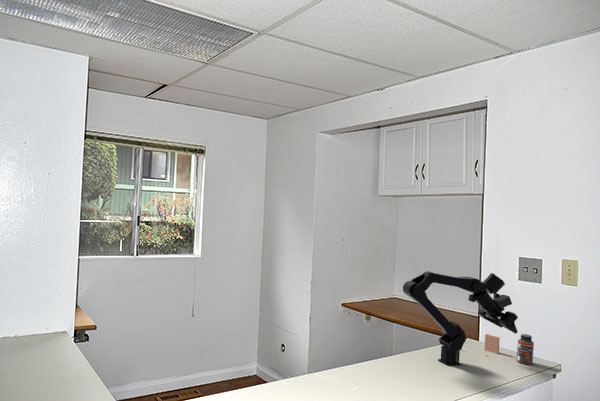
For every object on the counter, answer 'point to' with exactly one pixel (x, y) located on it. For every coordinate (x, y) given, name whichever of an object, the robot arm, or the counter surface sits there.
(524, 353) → the supplement bottle
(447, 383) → the counter surface
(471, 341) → the counter surface
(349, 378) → the counter surface
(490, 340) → the tile
